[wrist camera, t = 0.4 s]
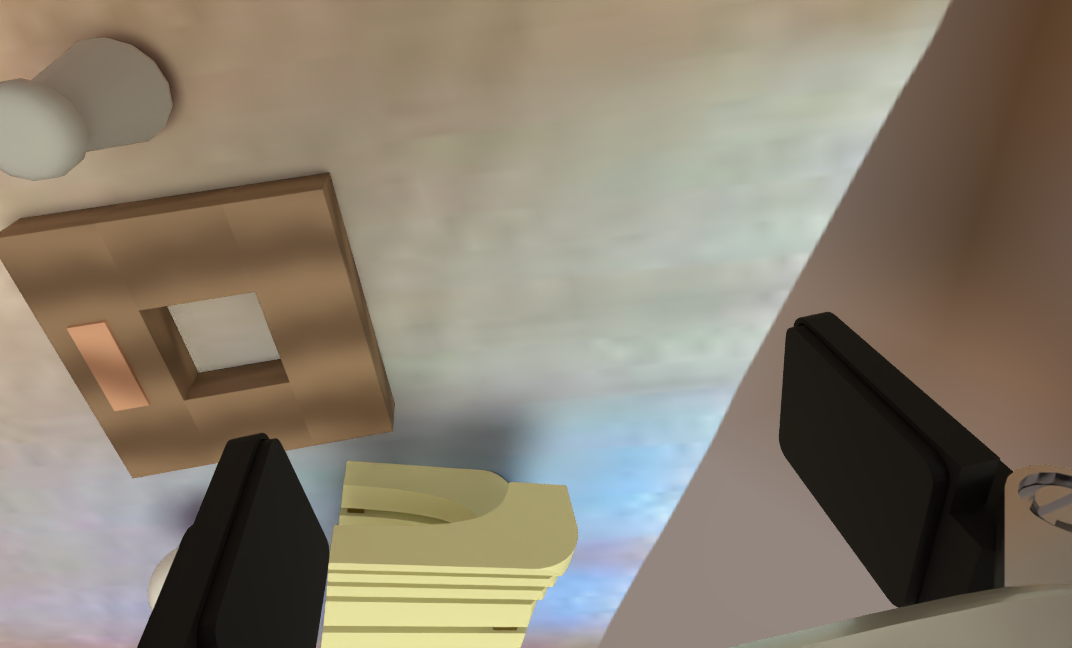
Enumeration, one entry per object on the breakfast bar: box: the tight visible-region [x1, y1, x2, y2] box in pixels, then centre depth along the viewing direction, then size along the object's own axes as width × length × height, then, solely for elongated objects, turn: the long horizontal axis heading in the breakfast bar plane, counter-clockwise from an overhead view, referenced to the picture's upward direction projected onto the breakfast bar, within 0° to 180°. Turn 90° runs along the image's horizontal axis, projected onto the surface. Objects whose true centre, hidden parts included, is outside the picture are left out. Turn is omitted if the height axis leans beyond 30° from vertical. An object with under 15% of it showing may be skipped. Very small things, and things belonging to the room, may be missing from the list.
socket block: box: [0, 173, 395, 478], centre depth 46 cm, size 20×20×4 cm
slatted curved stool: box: [321, 461, 578, 648], centre depth 53 cm, size 30×16×18 cm, turn 167°
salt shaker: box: [0, 37, 173, 181], centre depth 33 cm, size 6×6×13 cm
